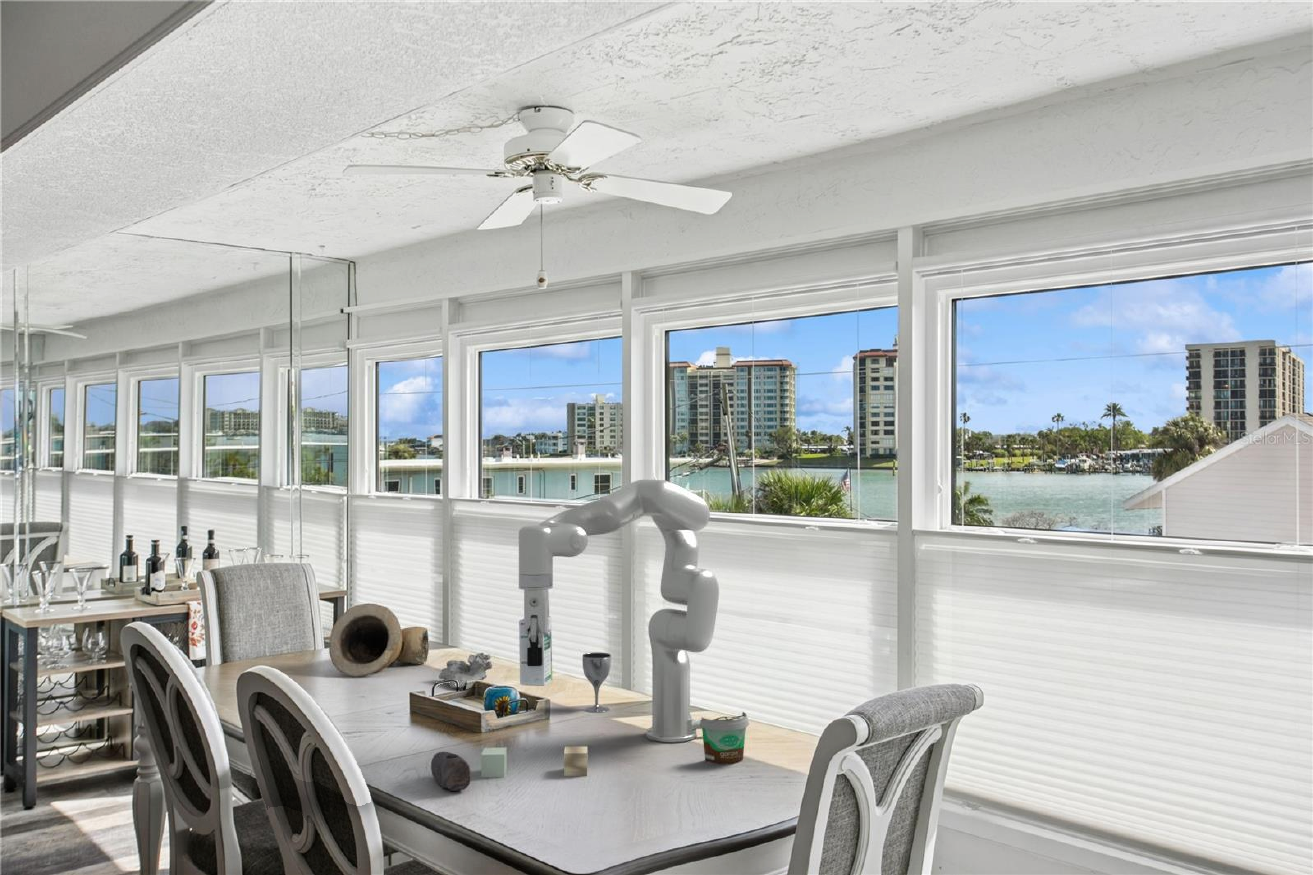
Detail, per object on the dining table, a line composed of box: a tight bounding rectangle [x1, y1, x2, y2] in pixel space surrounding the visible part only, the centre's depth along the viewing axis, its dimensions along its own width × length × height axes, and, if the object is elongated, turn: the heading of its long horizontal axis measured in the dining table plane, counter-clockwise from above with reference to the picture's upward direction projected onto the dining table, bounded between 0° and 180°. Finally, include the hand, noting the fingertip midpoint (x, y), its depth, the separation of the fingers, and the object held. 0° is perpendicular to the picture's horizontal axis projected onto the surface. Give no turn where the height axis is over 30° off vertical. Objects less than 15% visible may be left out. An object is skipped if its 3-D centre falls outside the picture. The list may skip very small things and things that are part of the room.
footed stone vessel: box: [328, 603, 430, 677], centre depth 323 cm, size 23×29×30 cm
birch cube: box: [563, 746, 588, 777], centre depth 214 cm, size 5×5×5 cm
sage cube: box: [480, 747, 508, 778], centre depth 213 cm, size 5×5×5 cm
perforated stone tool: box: [430, 751, 472, 792], centre depth 205 cm, size 15×5×7 cm, turn 33°
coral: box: [438, 652, 493, 689], centre depth 298 cm, size 17×14×10 cm
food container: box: [699, 711, 750, 765], centre depth 222 cm, size 12×6×10 cm, turn 117°
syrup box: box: [518, 615, 553, 687], centre depth 214 cm, size 6×6×14 cm
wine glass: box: [582, 651, 612, 714], centre depth 268 cm, size 8×8×15 cm
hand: (535, 661), depth 214 cm, fingers closed on syrup box, 6 cm apart
